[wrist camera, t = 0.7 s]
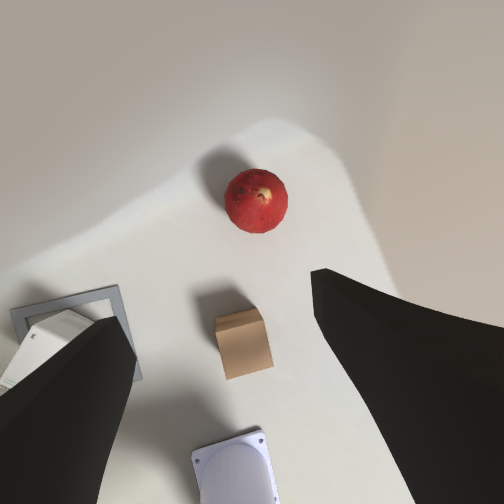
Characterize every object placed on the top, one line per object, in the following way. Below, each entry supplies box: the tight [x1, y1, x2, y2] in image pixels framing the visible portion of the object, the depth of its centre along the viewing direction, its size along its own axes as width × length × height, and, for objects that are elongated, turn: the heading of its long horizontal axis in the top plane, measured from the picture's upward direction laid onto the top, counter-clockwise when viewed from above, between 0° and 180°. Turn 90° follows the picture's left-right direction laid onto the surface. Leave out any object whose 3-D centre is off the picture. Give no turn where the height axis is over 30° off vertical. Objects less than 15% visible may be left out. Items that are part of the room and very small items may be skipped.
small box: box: [0, 309, 95, 389], centre depth 23 cm, size 6×6×5 cm
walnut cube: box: [215, 308, 274, 380], centre depth 25 cm, size 4×4×4 cm
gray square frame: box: [10, 286, 142, 382], centre depth 25 cm, size 10×10×1 cm
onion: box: [224, 169, 288, 233], centre depth 23 cm, size 6×6×8 cm
